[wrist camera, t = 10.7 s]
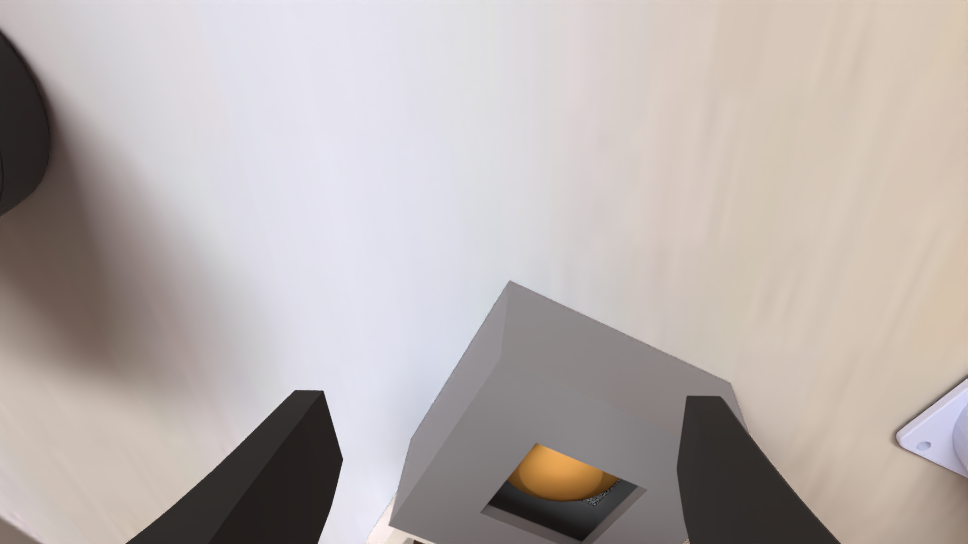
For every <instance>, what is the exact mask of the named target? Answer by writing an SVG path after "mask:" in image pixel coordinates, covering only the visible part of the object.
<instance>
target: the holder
mask: <svg viewBox="0 0 968 544" xmlns="http://www.w3.org/2000/svg"><path fill="white" fill-rule="evenodd" d="M396 494H397V492H396ZM396 494H395V495H394V497H393V499H392V500H391V502H390V503H389V505H388V506H387V508H386V509H385V511H384V512H383V514H382V515H381V517H380V519H379V520H378V522H377V523H376V525H375V526H374V528H373V529H372V531H371V532H370V534H369V536H368V537H367V541H366V544H413V541H414V540H417V541H419V542H422V543H425V544H435V543H433V542H430V541H427V540H425V539H422V538H420V537H417V536H414V535H412V534H409V533H406V532H404V531H401V530H398V529H396V528H393V527H391V526H388V525H389V521H390V517H391V513H392V510H393V506H394V502H395V498H396Z"/></svg>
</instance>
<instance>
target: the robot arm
mask: <svg viewBox="0 0 968 544" xmlns="http://www.w3.org/2000/svg"><path fill="white" fill-rule="evenodd" d="M896 439H897V441H898V443H899V444H900V446H902V447H903V448H905V449H907V450H909V451H911V452H913V453H915V454H917V455H920V456H922V457H924V458H926V459H928V460H930V461H932V462H934V463H937V464H939V465H941V466H943V467H945V468H947V469H949V470H951V471H954V472H956V473H958V474H960V475H962V476H964V477H966V478H968V378H967V379H966V380H965V381H963V382H962V383H961V384H959V385H958V386H957V387H955V388H954V389H953V390H952V391H950V392H949V393H948V394H946V395H945V396H944V397H942V398H941V399H940V400H939V401H937V402H936V403H935V404H933V405H932V406H931V407H929V408H928V409H927V410H925V411H924V412H923V413H922V414H920V415H919V416H918V417H916V418H915V419H914V420H912V421H911V422H910V423H909V424H907V425H906V426H905V427H903V428H902V429H901V430H900V431H899V432H898V433H897V435H896ZM342 462H343V458H342V454H341V451H340V447H339V444H338V440H337V437H336V433H335V430H334V426H333V423H332V419H331V416H330V412H329V409H328V405H327V402H326V398H325V395H324V391H318V390H295V391H294V392H293V393H292V394H291V395H290V396H288V397H287V398H286V399H285V400H284V401H283V402H282V403H281V404H280V405H279V406H278V407H277V408H276V409H275V410H274V411H273V412H272V413H271V414H270V415H269V416H268V417H267V418H266V419H265V420H264V421H263V422H262V423H261V424H260V425H259V426H258V427H257V428H256V429H255V430H254V431H253V432H252V433H251V434H250V435H249V436H248V437H247V438H246V439H245V440H244V441H243V442H242V443H241V444H240V445H239V446H238V447H237V448H236V449H235V450H234V451H233V452H232V453H230V454H229V455H228V456H227V457H226V458H225V459H224V460H223V461H222V462H221V463H220V464H219V465H218V466H217V467H216V468H215V469H214V470H213V471H212V472H210V473H209V474H208V475H207V476H206V477H205V478H204V479H203V480H201V481H200V482H199V483H198V484H197V485H196V486H195V487H194V488H192V489H191V490H190V491H189V492H188V493H187V494H186V495H185V496H183V497H182V498H181V499H180V500H179V501H178V502H177V503H176V504H174V505H173V506H172V507H171V508H170V509H169V510H167V511H166V512H165V513H164V514H163V515H161V516H160V517H159V518H158V519H157V520H155V521H154V522H153V523H152V524H150V525H149V526H148V527H147V528H145V529H144V530H143V531H142V532H140V533H139V534H138V535H136V536H135V537H134V538H132V539H131V540H130V541H129V542H127V543H126V544H318V541H319V538H320V536H321V533H322V530H323V528H324V525H325V523H326V520H327V517H328V514H329V512H330V509H331V506H332V502H333V498H334V495H335V491H336V487H337V483H338V479H339V474H340V470H341V466H342ZM676 470H677V477H678V484H679V491H680V498H681V504H682V510H683V516H684V522H685V526H686V530H687V534H688V537H689V541H690V544H841V543H840V542H839V541H838V540H837V539H836V538H835V537H834V536H833V535H832V534H831V533H830V531H829V530H828V529H827V528H826V527H825V526H824V525H823V524H822V523H821V522H820V520H819V519H818V518H817V517H816V516H815V515H814V514H813V513H812V511H811V510H810V509H809V508H808V507H807V506H806V505H805V503H804V502H803V501H802V500H801V499H800V498H799V496H798V495H797V494H796V493H795V492H794V490H793V489H792V488H791V487H790V486H789V484H788V483H787V482H786V481H785V480H784V478H783V477H782V476H781V475H780V473H779V472H778V471H777V470H776V469H775V467H774V466H773V465H772V464H771V462H770V461H769V460H768V459H767V457H766V456H765V455H764V453H763V452H762V451H761V449H760V448H759V447H758V445H757V444H756V443H755V442H754V440H753V439H752V438H751V436H750V435H749V434H748V432H747V431H746V429H745V428H744V427H743V425H742V424H741V423H740V421H739V420H738V418H737V417H736V416H735V414H734V413H733V411H732V410H731V409H730V407H729V406H728V404H727V403H726V401H725V400H724V399H723V398H722V397H721V396H687V397H686V404H685V411H684V418H683V425H682V432H681V439H680V446H679V454H678V461H677V468H676Z"/></svg>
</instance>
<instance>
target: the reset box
mask: <svg viewBox="0 0 968 544" xmlns="http://www.w3.org/2000/svg"><path fill="white" fill-rule="evenodd" d="M687 396H721V397H722V398H723V399H724V400H725V401H726V403H727V404H728V406H729V407H730V409H731V410H732V411H733V413H734V414H735V416H736V417H737V418H738V420H739V421H740V423H741V424H742V425H743V427H744V428H745V429H746V431H747V432H748V430H747V427H746V424H745V422H744V419H743V416H742V413H741V411H740V408H739V405H738V402H737V400H736V397H735V394H734V392H733V389H732V386H731V383H729V382H727V381H725V380H723V379H720V378H718V377H716V376H714V375H712V374H710V373H707V372H705V371H703V370H701V369H699V368H697V367H695V366H692V365H690V364H688V363H686V362H684V361H682V360H679V359H677V358H675V357H673V356H671V355H669V354H667V353H664V352H662V351H660V350H658V349H656V348H654V347H651V346H649V345H647V344H645V343H643V342H641V341H639V340H636V339H634V338H632V337H630V336H628V335H626V334H624V333H621V332H619V331H617V330H615V329H613V328H611V327H608V326H606V325H604V324H602V323H600V322H598V321H596V320H593V319H591V318H589V317H587V316H585V315H583V314H580V313H578V312H576V311H574V310H572V309H570V308H568V307H565V306H563V305H561V304H559V303H557V302H555V301H552V300H550V299H548V298H546V297H544V296H542V295H540V294H537V293H535V292H533V291H531V290H529V289H527V288H524V287H522V286H520V285H518V284H516V283H514V282H512V281H509V282H508V284H507V285H506V287H505V288H504V290H503V292H502V293H501V295H500V296H499V298H498V300H497V301H496V303H495V304H494V306H493V308H492V309H491V311H490V313H489V314H488V316H487V317H486V319H485V321H484V322H483V324H482V325H481V327H480V329H479V330H478V332H477V334H476V335H475V337H474V338H473V340H472V342H471V343H470V345H469V346H468V348H467V350H466V351H465V353H464V355H463V356H462V358H461V359H460V361H459V363H458V364H457V366H456V367H455V369H454V371H453V372H452V374H451V375H450V377H449V379H448V380H447V382H446V384H445V385H444V387H443V388H442V390H441V392H440V393H439V395H438V396H437V398H436V400H435V401H434V403H433V405H432V406H431V408H430V409H429V411H428V413H427V414H426V416H425V417H424V419H423V421H422V422H421V424H420V426H419V427H418V429H417V430H416V432H415V434H414V435H413V437H412V438H411V441H410V445H409V449H408V452H407V456H406V460H405V464H404V468H403V471H402V475H401V479H400V483H399V487H398V490H397V494H396V498H395V502H394V506H393V510H392V513H391V517H390V521H389V525H388V526H391V527H393V528H396V529H398V530H401V531H404V532H406V533H409V534H412V535H414V536H417V537H420V538H422V539H425V540H427V541H430V542H433V543H435V544H681V543H683V542H684V541H685V540H686V539H687V538H689V537H688V534H687V530H686V526H685V522H684V516H683V510H682V504H681V498H680V491H679V484H678V477H677V470H676V468H677V461H678V454H679V446H680V439H681V432H682V425H683V418H684V411H685V404H686V397H687ZM748 434H749V432H748ZM536 443H537V444H540V445H542V446H545V447H547V448H549V449H552V450H554V451H556V452H559V453H561V454H564V455H566V456H568V457H571V458H573V459H576V460H578V461H580V462H583V463H585V464H587V465H590V466H592V467H595V468H597V469H599V470H602V471H604V472H606V473H609V474H611V475H614V476H616V477H618V478H621V480H620V481H619V482H618V483H617V484H616V485H615V486H614V487H613V488H612V489H611V490H610V491H609V493H608V494H607V495H606V496H605V497H604V498H603V499H602V500H601V501H600V502H599V503H598V504H597V505H596V506H593V505H590V504H588V503H585V502H583V501H580V500H579V501H571V502H557V501H549V500H543V499H540V498H536V497H533V496H530V495H528V494H526V493H524V492H522V491H520V490H519V489H517V488H516V487H515V486H513V485H512V484H511V483H510V482H509V481H508V480H507V479H508V477H509V476H510V475H511V474H512V472H513V471H514V470H515V469H516V467H517V466H518V465H519V464H520V462H521V461H522V460H523V459H524V457H525V456H526V455H527V454H528V453H529V451H530V450H531V449H532V448H533V446H534V445H535V444H536Z"/></svg>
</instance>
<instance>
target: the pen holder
mask: <svg viewBox="0 0 968 544" xmlns="http://www.w3.org/2000/svg"><path fill="white" fill-rule="evenodd" d="M48 157H49V127H48V122H47V117H46V112H45V109H44V106H43V103H42V100H41V97H40V95H39V93H38V91H37V88H36V86H35V84H34V82H33V80H32V78H31V76H30V75H29V73H28V71H27V69H26V68H25V66H24V64H23V63H22V61H21V60H20V59H19V57H18V56H17V54H16V53H15V51H14V50H13V49H12V48H11V46H10V45H9V44H8V43H7V41H6V40H5V39H4V38H3V37H2V35H1V34H0V216H1V215H3V214H4V213H6V212H7V211H9V210H10V209H12V208H13V207H15V206H16V205H18V204H19V203H20V202H22V201H23V200H24V199H25V198H26V197H28V196H29V195H30V194H31V193H32V192H33V191H34V190H35V188H36V187H37V186H38V185H39V183H40V181H41V179H42V177H43V175H44V173H45V170H46V166H47V163H48Z"/></svg>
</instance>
